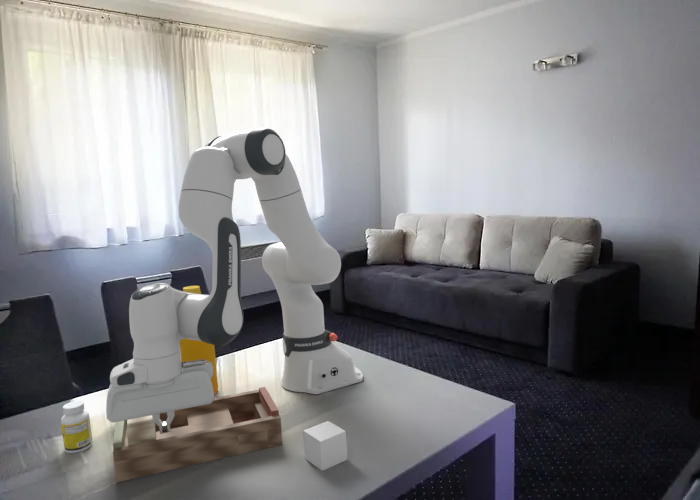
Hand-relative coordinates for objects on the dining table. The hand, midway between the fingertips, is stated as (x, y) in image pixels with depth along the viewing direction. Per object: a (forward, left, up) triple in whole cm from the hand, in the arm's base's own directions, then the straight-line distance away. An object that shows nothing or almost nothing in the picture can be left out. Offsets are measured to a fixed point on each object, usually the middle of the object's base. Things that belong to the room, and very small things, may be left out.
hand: (165, 431), depth 103 cm
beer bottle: (-9, -32, -6) cm, 34 cm away
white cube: (-29, +14, -6) cm, 33 cm away
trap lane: (-7, -4, -6) cm, 10 cm away
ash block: (+4, 0, -2) cm, 5 cm away
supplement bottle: (+18, -14, -6) cm, 23 cm away
